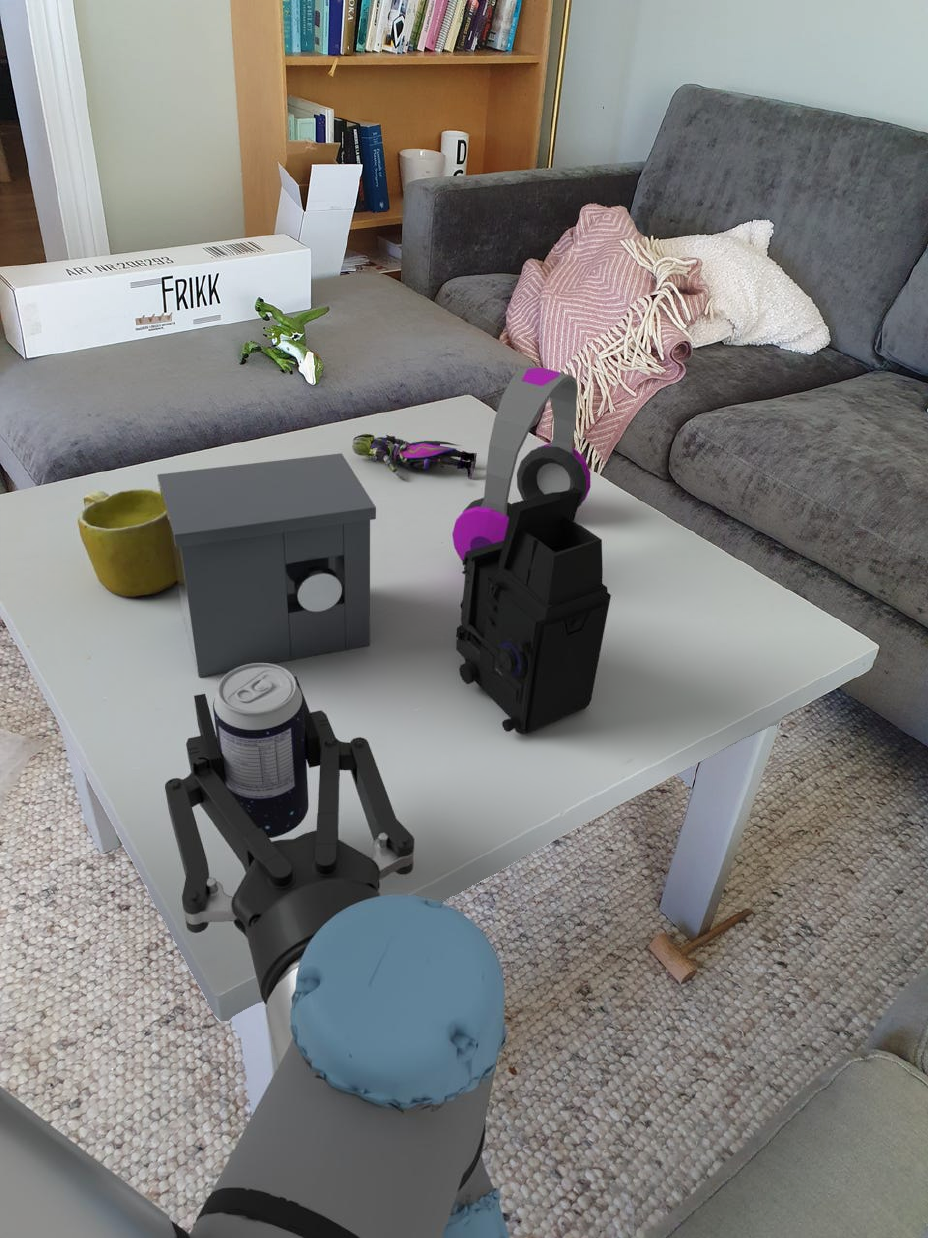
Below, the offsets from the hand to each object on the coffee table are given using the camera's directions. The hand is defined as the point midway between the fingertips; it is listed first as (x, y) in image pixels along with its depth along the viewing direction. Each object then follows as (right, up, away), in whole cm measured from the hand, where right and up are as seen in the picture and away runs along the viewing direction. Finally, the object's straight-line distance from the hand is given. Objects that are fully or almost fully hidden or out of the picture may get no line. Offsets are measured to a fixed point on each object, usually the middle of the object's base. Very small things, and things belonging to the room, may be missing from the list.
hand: (247, 700), depth 65 cm
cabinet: (-3, +5, +24) cm, 24 cm away
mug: (-19, +11, +31) cm, 38 cm away
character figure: (+9, +25, +54) cm, 60 cm away
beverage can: (+1, -8, 0) cm, 8 cm away
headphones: (+22, +15, +40) cm, 48 cm away
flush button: (+2, +7, +17) cm, 18 cm away
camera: (+20, 0, +20) cm, 28 cm away
